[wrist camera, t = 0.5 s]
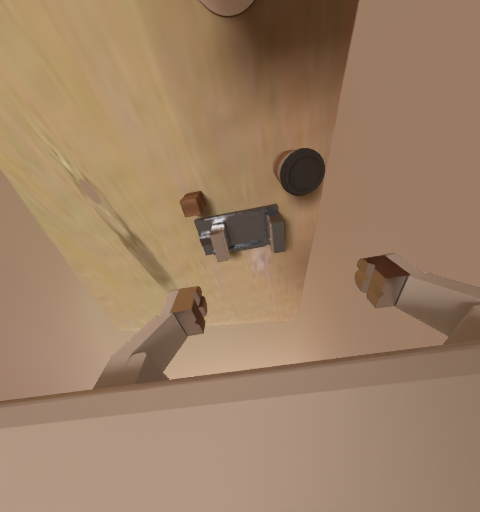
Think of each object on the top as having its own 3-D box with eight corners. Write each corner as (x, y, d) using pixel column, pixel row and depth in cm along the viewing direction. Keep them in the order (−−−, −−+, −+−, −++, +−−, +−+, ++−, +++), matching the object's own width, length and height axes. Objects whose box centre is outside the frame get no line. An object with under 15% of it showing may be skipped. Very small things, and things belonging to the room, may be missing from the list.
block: (186, 193, 48) (179, 201, 42) (200, 190, 48) (195, 198, 42) (191, 207, 50) (185, 217, 44) (204, 205, 50) (200, 214, 44)
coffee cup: (279, 189, 48) (296, 206, 36) (262, 162, 45) (273, 171, 32) (307, 167, 46) (335, 178, 33) (290, 137, 42) (315, 136, 29)
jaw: (197, 226, 52) (192, 238, 45) (224, 221, 51) (223, 232, 45) (205, 251, 56) (202, 264, 50) (230, 246, 56) (230, 260, 49)
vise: (195, 219, 52) (188, 232, 44) (275, 203, 50) (283, 215, 43) (206, 252, 59) (202, 269, 51) (278, 240, 57) (285, 255, 49)
